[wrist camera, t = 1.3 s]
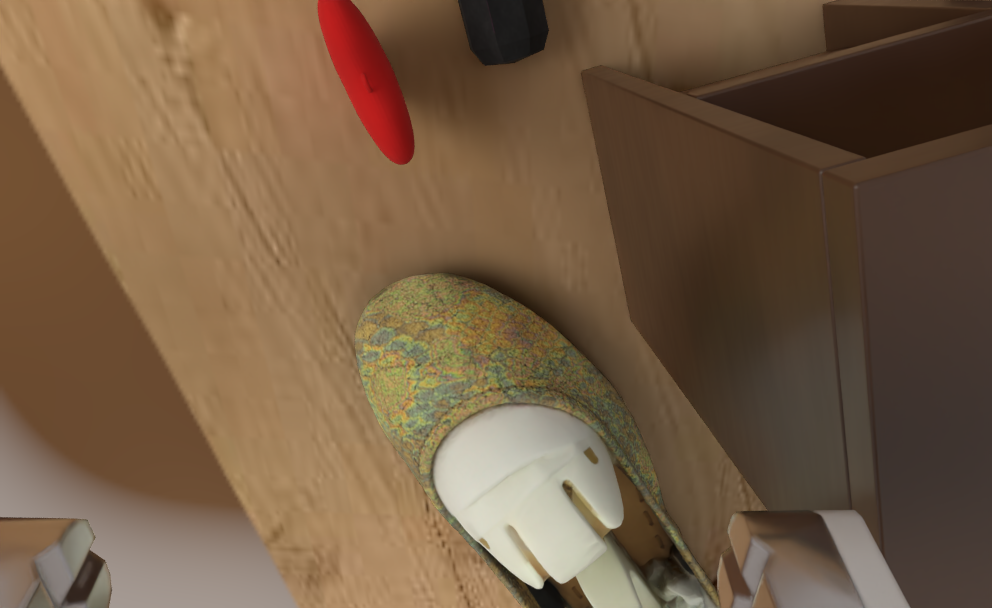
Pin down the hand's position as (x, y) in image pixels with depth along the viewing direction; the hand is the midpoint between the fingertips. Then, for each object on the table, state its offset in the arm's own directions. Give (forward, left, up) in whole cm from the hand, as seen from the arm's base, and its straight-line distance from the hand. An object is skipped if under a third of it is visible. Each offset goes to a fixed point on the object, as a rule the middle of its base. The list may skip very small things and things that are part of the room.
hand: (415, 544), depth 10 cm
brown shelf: (+3, +12, -20) cm, 23 cm away
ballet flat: (+14, +3, -20) cm, 25 cm away
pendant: (-4, 0, -20) cm, 21 cm away
